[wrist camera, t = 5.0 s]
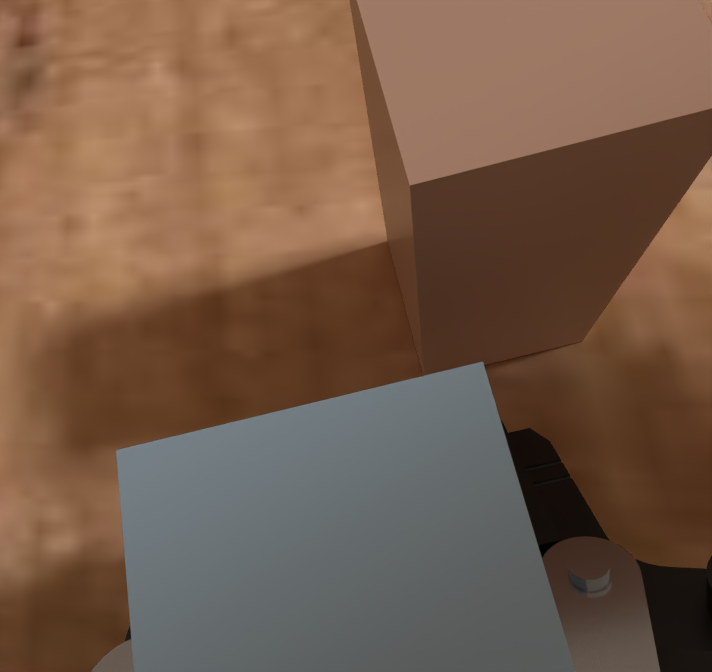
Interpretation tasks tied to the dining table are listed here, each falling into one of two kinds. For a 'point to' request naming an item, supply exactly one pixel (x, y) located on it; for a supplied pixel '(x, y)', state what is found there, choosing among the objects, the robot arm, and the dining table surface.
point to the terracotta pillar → (527, 157)
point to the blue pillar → (339, 540)
